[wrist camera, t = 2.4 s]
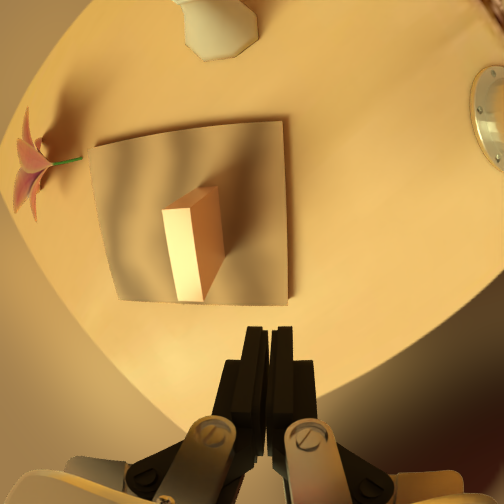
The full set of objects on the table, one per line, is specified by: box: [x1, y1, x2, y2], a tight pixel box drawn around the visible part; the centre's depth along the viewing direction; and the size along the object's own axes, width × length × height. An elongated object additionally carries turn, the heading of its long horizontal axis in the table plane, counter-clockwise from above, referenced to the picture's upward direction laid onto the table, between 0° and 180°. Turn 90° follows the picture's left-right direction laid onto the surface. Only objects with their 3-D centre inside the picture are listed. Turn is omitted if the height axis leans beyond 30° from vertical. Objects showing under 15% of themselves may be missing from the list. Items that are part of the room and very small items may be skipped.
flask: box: [172, 0, 259, 62], centre depth 16 cm, size 7×7×10 cm
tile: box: [162, 186, 225, 302], centre depth 23 cm, size 2×7×8 cm, turn 4°
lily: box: [13, 107, 82, 223], centre depth 24 cm, size 12×12×10 cm
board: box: [88, 121, 288, 306], centre depth 28 cm, size 20×18×1 cm
